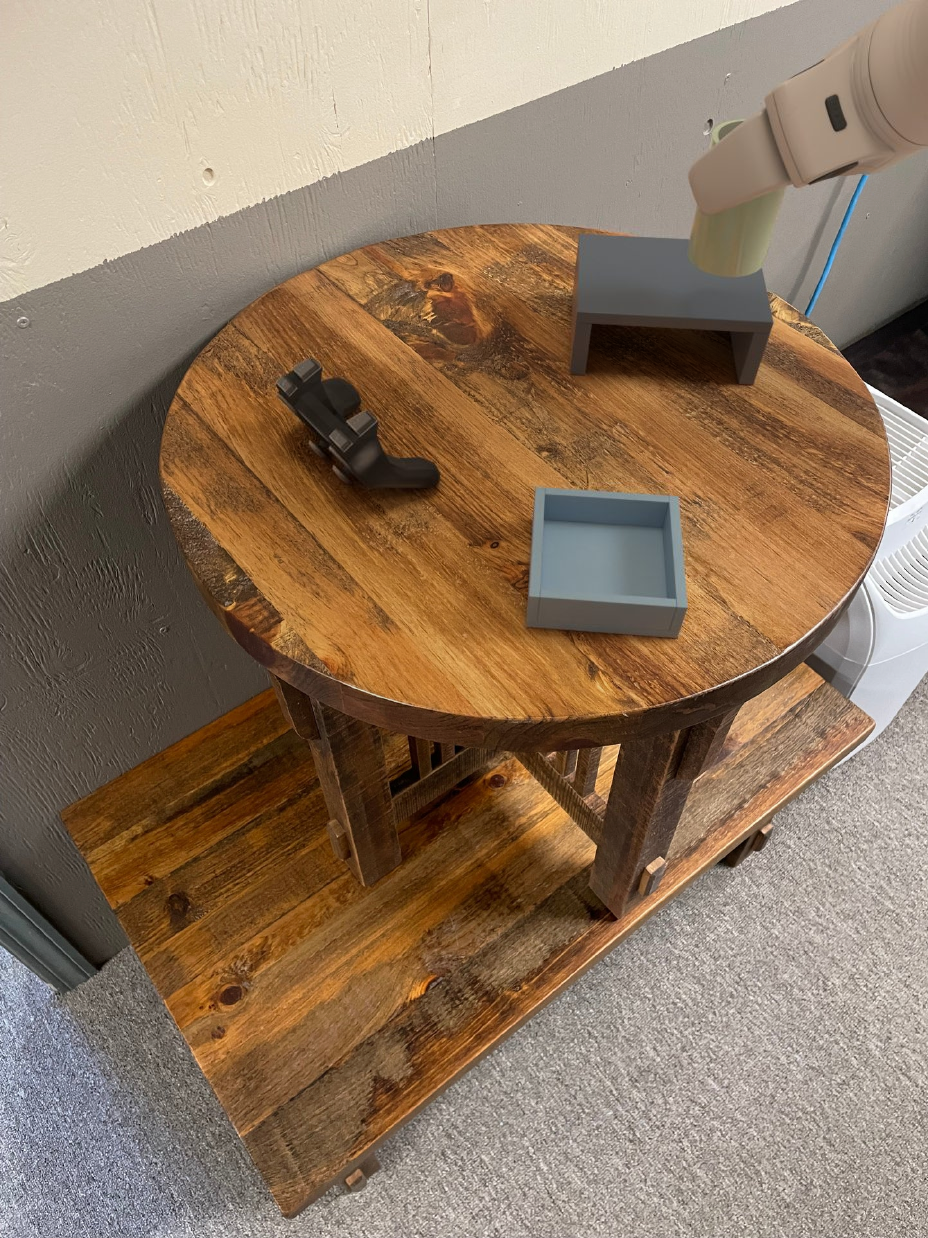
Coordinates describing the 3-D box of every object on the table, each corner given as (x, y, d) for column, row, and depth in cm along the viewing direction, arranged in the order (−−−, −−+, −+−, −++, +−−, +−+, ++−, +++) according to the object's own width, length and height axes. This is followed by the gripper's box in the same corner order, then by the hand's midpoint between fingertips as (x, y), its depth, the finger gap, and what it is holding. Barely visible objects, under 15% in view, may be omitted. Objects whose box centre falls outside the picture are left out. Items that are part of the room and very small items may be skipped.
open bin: (669, 528, 73) (678, 495, 70) (677, 638, 66) (688, 607, 63) (532, 518, 74) (535, 486, 71) (525, 627, 67) (528, 596, 64)
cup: (776, 250, 77) (812, 131, 69) (744, 286, 74) (778, 165, 66) (707, 227, 79) (734, 110, 71) (673, 261, 76) (697, 141, 68)
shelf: (739, 303, 93) (756, 242, 88) (753, 385, 85) (774, 322, 79) (572, 295, 94) (578, 233, 89) (569, 374, 86) (577, 311, 80)
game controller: (302, 437, 84) (241, 380, 75) (352, 387, 83) (296, 323, 75) (397, 536, 76) (340, 485, 67) (452, 481, 75) (402, 422, 67)
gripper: (956, 16, 62) (807, 113, 75) (762, 89, 55) (633, 183, 68) (981, 105, 64) (831, 185, 76) (795, 187, 57) (663, 261, 69)
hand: (736, 184), depth 72 cm, fingers closed on cup, 7 cm apart
